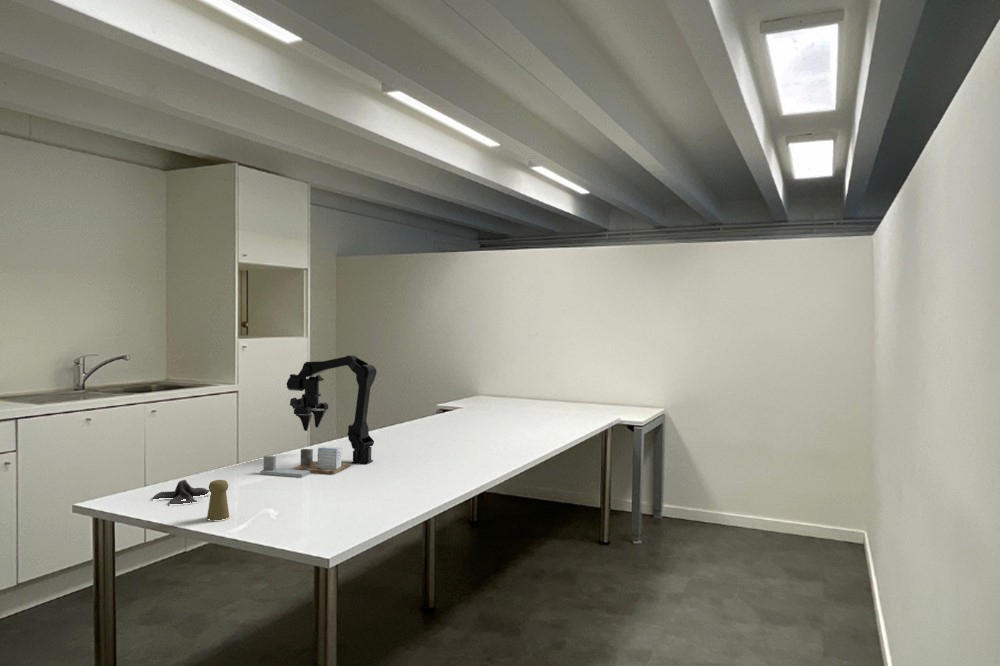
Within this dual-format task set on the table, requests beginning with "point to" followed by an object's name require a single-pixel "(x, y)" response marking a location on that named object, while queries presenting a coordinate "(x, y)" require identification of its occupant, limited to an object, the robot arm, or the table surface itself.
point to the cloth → (182, 493)
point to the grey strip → (272, 470)
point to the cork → (218, 500)
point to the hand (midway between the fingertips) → (311, 429)
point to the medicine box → (329, 458)
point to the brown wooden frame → (315, 464)
